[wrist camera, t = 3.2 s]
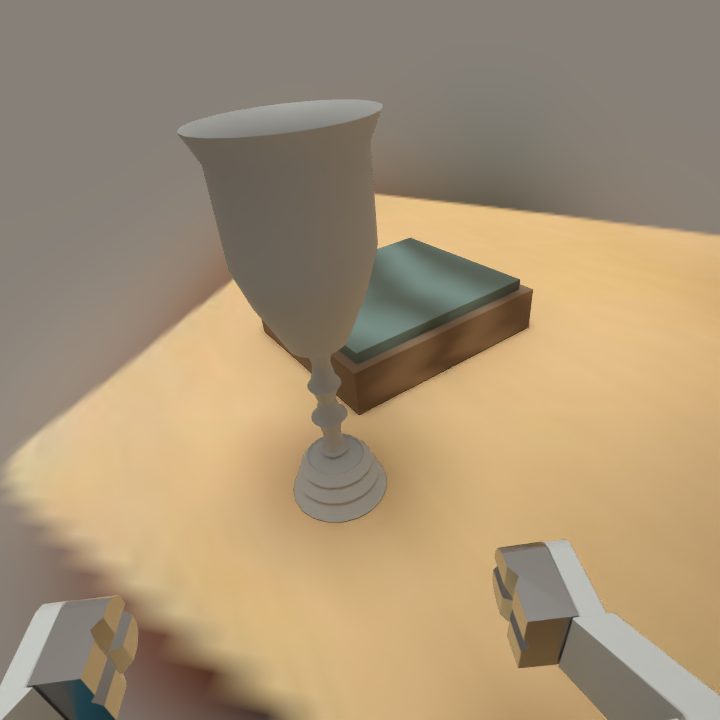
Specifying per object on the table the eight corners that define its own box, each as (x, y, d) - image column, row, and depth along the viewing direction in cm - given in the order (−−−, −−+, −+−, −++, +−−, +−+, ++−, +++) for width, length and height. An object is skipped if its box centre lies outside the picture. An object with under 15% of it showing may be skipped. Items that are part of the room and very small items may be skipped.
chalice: (301, 431, 30) (234, 106, 20) (411, 441, 29) (398, 94, 19) (256, 532, 24) (130, 143, 14) (391, 550, 23) (356, 131, 13)
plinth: (412, 273, 48) (411, 233, 46) (528, 326, 38) (534, 279, 36) (264, 331, 41) (254, 287, 39) (359, 414, 31) (353, 362, 29)
